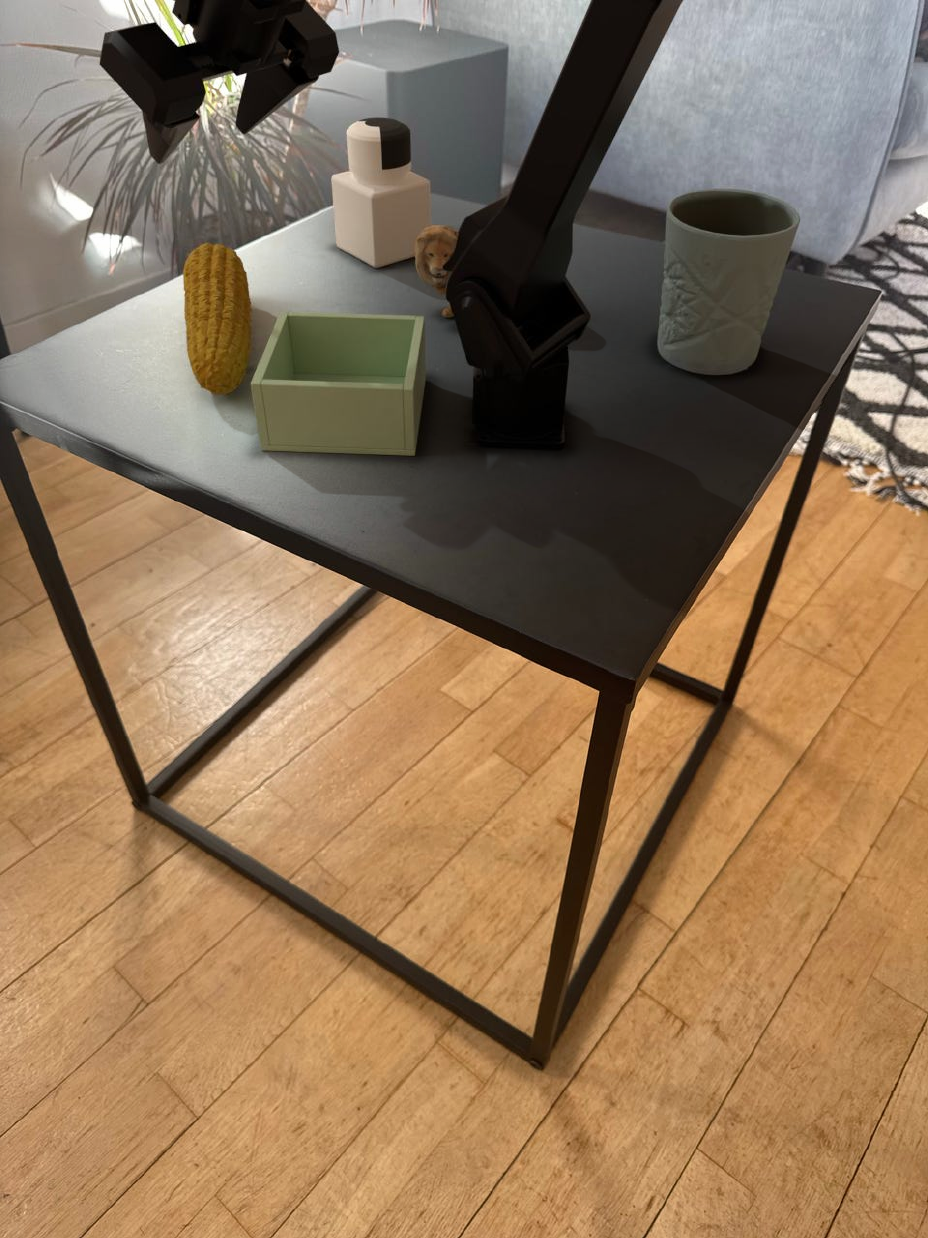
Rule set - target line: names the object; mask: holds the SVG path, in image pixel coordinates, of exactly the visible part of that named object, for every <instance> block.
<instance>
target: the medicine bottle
mask: <svg viewBox="0 0 928 1238" xmlns="http://www.w3.org/2000/svg"><path fill="white" fill-rule="evenodd" d="M411 143H412V141H411V129H410V128H409V126H407V124H405V123H403V122H402V121H399V120H397V119H395V118H390V117H366V118H362V119H359V120H357V121H355V122H354V123H352V124H350V125H349V126H348V128H347V130H346V145H347V160H348V161H347V162H348V171H344V172H340V173H336V174H332V176H331V179H330V181H331V195H332V204H333V205H332V206H333V217H334V229H335V230H334V232H335V245H336V246H337V248H339V249H340V250H342V251H344V252H346V253H348V254H349V255H351V256H353V257H355V258H356V259H358V260H360V261H362V262H364V263H366V264H367V265H369V266H371V267H373V268H375V269H380V268H382V267H385V266H388V265H392V264H395V263H399V262H402V261H405V260H408V259H410V258H411V259H412V258H415V255H414V248H415V245H416V241H417V238H418V236H419V235H420V233H421V232H422V231H423V230H424V229H425V228H426V227H431V226H432V224H431V220H432V219H431V218H432V216H431V215H432V213H431V181H430V180H429V179H428V178H425V177H424V176H421V175H419V174H417V173H414V172H412V171H411V170H412V148H411V147H412V146H411V145H412V144H411Z"/></svg>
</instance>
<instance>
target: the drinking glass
mask: <svg viewBox="0 0 928 1238" xmlns="http://www.w3.org/2000/svg"><path fill="white" fill-rule="evenodd" d="M666 208H667V209H666V217H665V237H664V238H665V243H666V244H665V247H664V256H663V268H664V271H663V273H662V275H663V277H664V278H663V282H662V285H661V295H660V301H661V306H660V308H659V320H658V321H659V323H658V325H659V326H658V330H657V351H658V354H659V355H660V356H661V357H662V358H663V359H664V360H665V361H666V362H667V363H669V364H671V365H672V366H674V367H676V368H678V369H681V370H684V371H686V372H689V373H695V374H700V375H706V376H707V375H708V376H723V375H733V374H737V373H740V372H743V371H746V370H748V369H749V367H752V365H753V364H754V362H755V360H756V359H757V356H758V353H759V350H760V347H761V344H762V336H763V334H764V333H765V329H766V327H767V324H768V321H769V318H770V315H771V309H772V307H773V305H774V299H775V297H776V295H777V293H778V288H779V285H780V283H781V280H782V277H783V272H784V269H785V267H786V263H787V261H788V258H789V256H790V252H791V250H792V246H793V243H794V241H795V238H796V237H795V236H796V234H797V231H798V228H799V226H800V222H801V216H800V214H799V212H798V211H797V209H796V208H795V207H794V206H792V205H790V203H788V202H786V201H784V200H782V199H781V198H777V197H774V196H772V195H769V194H766V193H761V192H757V191H753V190H748V189H747V190H746V189H739V188H738V189H737V188H711V189H709V188H708V189H699V190H692V191H688V192H684V193H683V194H681V195H679V196H676V197H674V198H673V199H672V200H671V201H670V202H669V204H668V206H667V207H666Z"/></svg>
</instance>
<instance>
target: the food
mask: <svg viewBox="0 0 928 1238" xmlns="http://www.w3.org/2000/svg"><path fill="white" fill-rule="evenodd" d="M247 274H248V273H247V271H246V270H245V267H244V264H243V261H242V259H241V257H240V256H238V254H237V251H235V250H234V249H232V248H231V247H227V246H226V244H223V243H222V244H221V243H215V244H211V243H210V242H205V243H203V244H200V245H199V246H198V247H196V248H194V249H193V250H192V251H191V252H190V253H189V256H188V257H187V258H186V260H185V262H184V266H183V269H182V275H183V278H182V279H183V280H182V281H183V291H184V294H183V297H184V308H183V311H184V312H183V315H184V322H185V329H186V330H185V331H186V332H185V334H186V335H185V336H186V337H185V338H186V352H187V357H188V360H189V364H190V367H191V371H192V373H193V375H194V377H195V379H196V381H197V383H198V384H199V385H200V388H201V389H205V390H207V391H209V392H210V394H211V395H213V396H217V395H219V394H220V395H227V394H230V393H232V392H233V391H235V390H236V389H237V388H239V387H240V386H241V383H242V382H243V380H244V379H245V376H246V374H247V369H248V366H249V362H250V358H251V351H252V311H253V309H252V302H251V295H250V290H249V289H250V288H249V286H250V285H249V281H248V275H247Z"/></svg>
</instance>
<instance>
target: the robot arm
mask: <svg viewBox="0 0 928 1238" xmlns="http://www.w3.org/2000/svg"><path fill="white" fill-rule="evenodd" d="M173 1H174V2H173V7H172V12H171V13H172V14H173V15H174V16H175V18H176V19H178V21H179V22H180V23H181V24H182V25H183V26H187V25H189V26H190V27H191V28H192V29H193V30H192V37H193V39H194V41H195V42H190V43H186V44H183V45H179V46H178V45H177V44H176V42H174V40H173V39H172V38H171V37H170V36H169V35H168V34H167V33H166V32H165V31H164V30H163V29H162V27H161V26H160V25H159V24H158V23H157V22H156V21H154V22H148V23H147V22H146V23H142V24H137V25H132V26H128V27H123V28H120V29H115V30H111V31H107V32H106V31H105V32H104V34H103V38H102V39H103V40H102V47H101V50H100V55H99V66H100V67H101V68H102V69H103V71H105V72H106V74H108V75H109V77H110V78H111V79H112V80H113V81H114V82H115V83H116V84H117V85H118V86H119V88H120V89H121V90H122V91H123V92H124V93H125V95H127V96H128V98H130V99H131V101H132V102H133V103H134V104H135V105H136V106H137V107H138V108H139V110H140V111H141V113H142V118H143V123H144V124H143V125H144V130H145V135H146V141H147V146H148V152H149V155H150V157H151V158H152V159H153V160H154V161H155V162H156V164H158V165H161V164H163V163H165V161H166V160H167V159H168V158H169V157H170V156H171V155H172V154H173V153H174V151H175V150H176V149H177V148H178V146H179V145H180V144H181V142H182V141H183V140H184V139H185V137H186V136H187V135H188V134H189V132H190V131H191V130H192V129H193V127H195V125H196V124H197V122H198V121H199V120H200V118H201V116H200V114H199V113H198V112H197V111H198V110H199V109H200V108H201V107H202V106H203V104H204V100H205V97H206V94H207V89H206V87H205V84H204V83H205V82H208V81H212V80H214V79H218V78H221V77H225V76H228V75H232V74H234V76H236V77H239V76H242V75H245V76H244V77H245V78H244V82H243V85H242V90H241V94H240V98H239V102H238V106H237V109H236V110H237V111H236V117H235V123H234V124H235V127H236V128H237V130H238V131H239V132H240V133H241V134H242V135H247V134H249V133H250V132H251V131H252V130H253V129H255V128H256V127H257V126H259V125H260V124H261V123H263V121H265V120H266V119H267V118H269V117H270V116H271V115H272V114H274V113H275V112H276V111H278V110H279V109H280V108H281V107H283V106H284V105H285V104H286V103H288V102H289V101H290V100H292V99H293V98H294V97H296V96H297V95H299V94H300V93H301V92H302V91H304V90H305V89H306V88H309V86H311V85H313V84H315V83H316V82H318V81H319V78H320V76H323V75H326V74H330V73H332V71H333V69H334V66H335V64H336V61H337V59H338V57H339V54H340V48H339V43H338V38H337V33H336V31H335V30H334V29H333V28H332V27H331V26H330V25H329V23H327V21H325V20H324V19H323V17H322V16H321V15H320V14H319V12H317V11H316V10H315V8H314V7H313V6H312V5H311V4H310V3H309V2H308V1H307V0H173ZM683 2H684V0H590V2H589V4H588V6H587V9H586V12H585V14H584V16H583V18H582V21H581V23H580V25H579V28H578V30H577V32H576V35H575V37H574V39H573V42H572V44H571V47H570V49H569V51H568V54H567V56H566V58H565V60H564V63H563V65H562V68H561V70H560V73H559V75H558V77H557V80H556V82H555V84H554V86H553V89H552V91H551V94H550V96H549V98H548V100H547V103H546V106H545V108H544V110H543V113H542V115H541V116H540V120H539V121H538V124H537V127H536V129H535V130H534V133H533V136H532V139H531V140H530V143H529V145H528V147H527V150H526V152H525V155H524V157H523V160H522V161H521V164H520V166H519V168H518V171H517V174H516V176H515V178H514V180H513V183H512V185H511V188H510V190H509V193H508V194H506V195H504V196H502V197H500V198H498V199H497V200H495V201H493V202H491V203H489V204H487V205H485V206H483V207H481V208H479V209H478V210H476V211H474V212H472V213H470V214H469V215H467V216H465V217H464V219H463V220H462V223H461V225H460V227H459V230H458V232H459V233H458V238H457V243H456V247H455V250H454V252H453V254H452V256H451V258H450V259H449V260H448V261H447V262H446V263H445V264H444V265H443V270H445V271H451V272H450V274H449V276H448V278H447V283H446V288H445V294H444V295H445V300H446V301H447V302H448V304H449V303H450V306H451V309H452V313H453V315H454V316H453V318H454V321H455V325H456V329H457V333H458V335H459V339H460V343H461V346H462V351H463V353H464V357H465V360H466V363H467V365H468V366H470V367H473V374H472V408H471V409H472V410H471V411H472V412H471V413H472V414H471V423H472V424H473V425H474V426H475V427H477V444H478V445H480V446H486V447H487V446H490V447H492V446H493V447H516V448H517V447H518V448H545V449H547V448H548V449H561V448H563V447H565V442H566V436H565V423H564V422H565V419H564V418H565V409H566V399H567V388H568V380H569V370H570V369H569V368H570V353H569V345H571V344H572V343H573V342H574V341H578V340H579V339H580V338H582V336H583V334H584V332H585V330H586V328H587V326H588V324H589V322H590V320H591V317H592V316H591V312H589V310H588V308H587V307H586V304H584V302H583V301H582V299H581V298H580V296H579V294H578V293H577V291H576V290H575V288H574V287H573V285H572V284H571V282H570V281H569V279H568V277H567V276H566V274H567V272H568V269H569V266H570V263H571V260H572V257H573V253H574V252H573V251H574V250H573V247H574V237H573V236H574V221H575V218H576V215H577V213H578V211H579V209H580V207H581V205H582V203H583V201H584V199H585V197H586V195H587V193H588V191H589V189H590V187H591V185H592V183H593V181H594V179H595V177H596V175H597V173H598V171H599V169H600V167H601V165H602V163H603V161H604V159H605V157H606V154H607V153H608V151H609V150H610V149H609V148H610V147H611V145H612V143H613V141H614V138H615V137H616V135H617V133H618V131H619V129H620V127H621V126H622V122H623V121H624V119H625V117H626V115H627V113H628V112H629V109H630V107H631V105H632V103H633V101H634V99H635V97H636V94H637V93H638V91H639V89H640V87H641V85H642V83H643V82H644V79H645V77H646V75H647V73H648V71H649V69H650V67H651V64H652V63H653V61H654V59H655V57H656V55H657V53H658V50H659V49H660V47H661V45H662V43H663V41H664V39H665V37H666V35H667V33H668V31H669V29H670V27H671V24H672V23H673V21H674V18H675V17H676V16H677V13H678V12H679V9H680V7H681V5H682V3H683Z"/></svg>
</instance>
